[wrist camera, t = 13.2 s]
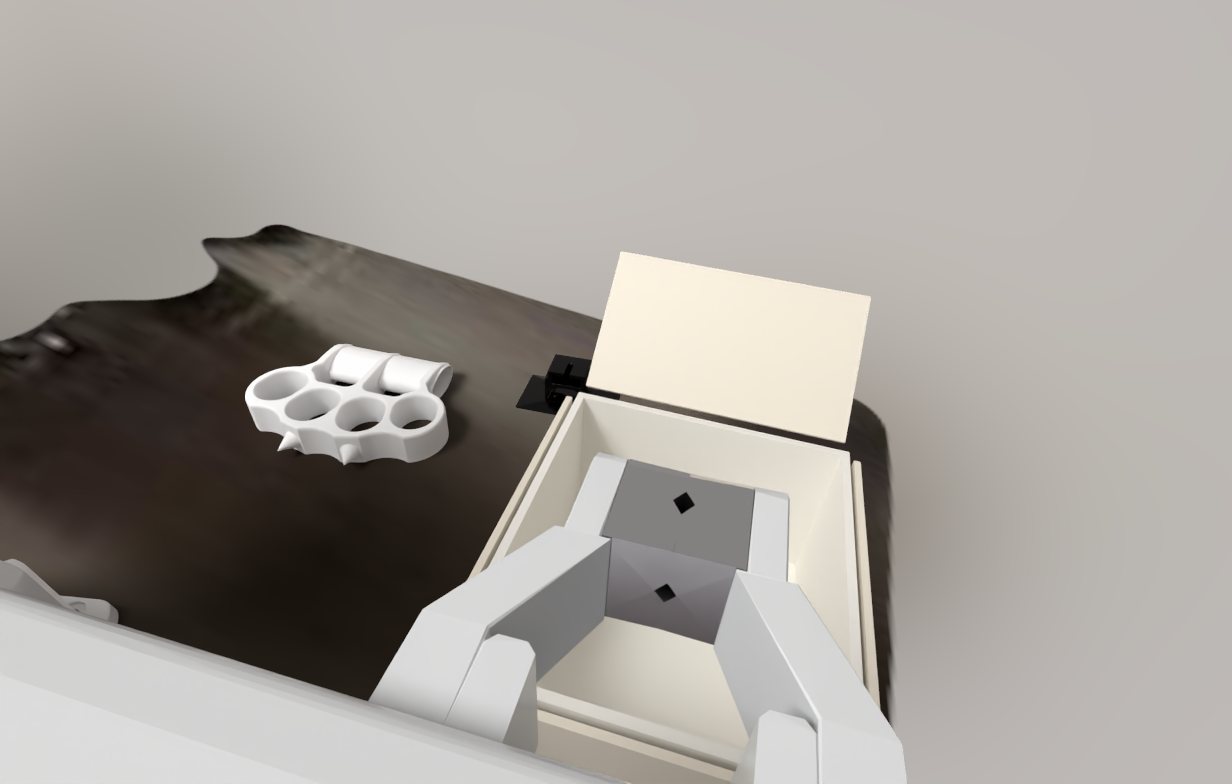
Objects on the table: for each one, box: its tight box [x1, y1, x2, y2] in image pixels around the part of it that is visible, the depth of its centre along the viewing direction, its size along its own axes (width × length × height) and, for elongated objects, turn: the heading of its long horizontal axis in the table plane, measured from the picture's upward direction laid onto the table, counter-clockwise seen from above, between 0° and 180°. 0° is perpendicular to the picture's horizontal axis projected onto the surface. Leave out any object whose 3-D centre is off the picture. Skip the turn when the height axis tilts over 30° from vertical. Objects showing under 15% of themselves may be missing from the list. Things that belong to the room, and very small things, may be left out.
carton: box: [467, 392, 880, 784], centre depth 35 cm, size 19×21×12 cm
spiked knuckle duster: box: [245, 344, 453, 465], centre depth 55 cm, size 3×18×15 cm
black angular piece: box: [516, 354, 620, 415], centre depth 58 cm, size 12×7×5 cm, turn 79°
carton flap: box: [586, 252, 871, 443], centre depth 40 cm, size 17×10×1 cm
